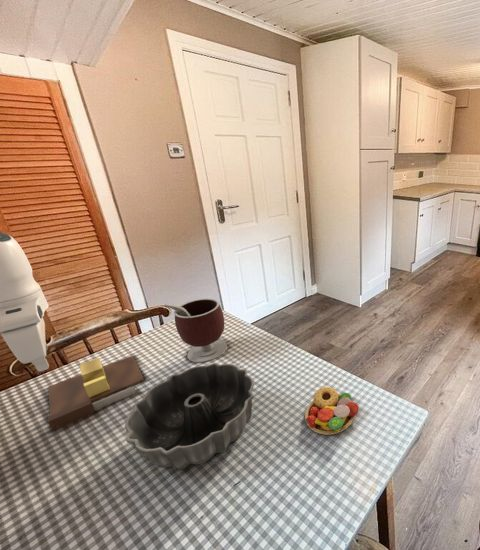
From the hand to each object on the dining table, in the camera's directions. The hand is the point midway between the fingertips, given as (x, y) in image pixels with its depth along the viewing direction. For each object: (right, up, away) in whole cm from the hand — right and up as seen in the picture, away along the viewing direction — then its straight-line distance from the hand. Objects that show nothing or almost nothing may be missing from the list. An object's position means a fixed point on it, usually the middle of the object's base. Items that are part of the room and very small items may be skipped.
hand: (43, 359), depth 70 cm
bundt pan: (+35, -19, +4) cm, 40 cm away
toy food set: (+66, -17, +8) cm, 69 cm away
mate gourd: (+20, -7, +34) cm, 40 cm away
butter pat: (0, -13, +15) cm, 20 cm away
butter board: (-4, -13, +19) cm, 23 cm away
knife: (+3, -17, +10) cm, 20 cm away
